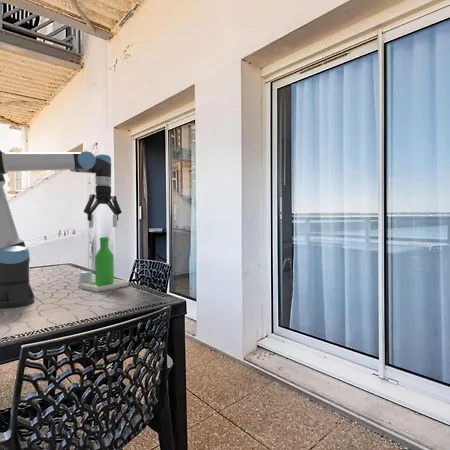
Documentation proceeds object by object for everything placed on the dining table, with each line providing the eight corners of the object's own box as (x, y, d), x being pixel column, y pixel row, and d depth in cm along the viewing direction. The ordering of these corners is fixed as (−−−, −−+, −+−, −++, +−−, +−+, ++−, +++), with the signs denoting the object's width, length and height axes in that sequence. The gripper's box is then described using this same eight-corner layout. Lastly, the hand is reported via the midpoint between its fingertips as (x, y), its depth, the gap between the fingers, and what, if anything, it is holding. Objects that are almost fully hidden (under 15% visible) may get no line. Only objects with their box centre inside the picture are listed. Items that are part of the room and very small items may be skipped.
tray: (97, 292, 155) (97, 287, 155) (80, 288, 164) (80, 283, 164) (128, 285, 169) (128, 281, 169) (111, 282, 178) (111, 278, 178)
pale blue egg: (83, 287, 167) (83, 273, 166) (77, 285, 170) (76, 272, 170) (94, 285, 171) (93, 272, 171) (87, 284, 175) (87, 271, 175)
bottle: (109, 287, 162) (109, 237, 161) (92, 287, 162) (91, 237, 162) (116, 283, 171) (115, 236, 170) (99, 283, 171) (99, 236, 170)
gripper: (84, 182, 153) (84, 227, 153) (128, 187, 173) (128, 227, 174) (75, 183, 157) (76, 227, 158) (119, 188, 178) (119, 226, 178)
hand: (103, 227), depth 166 cm, fingers open, 13 cm apart
